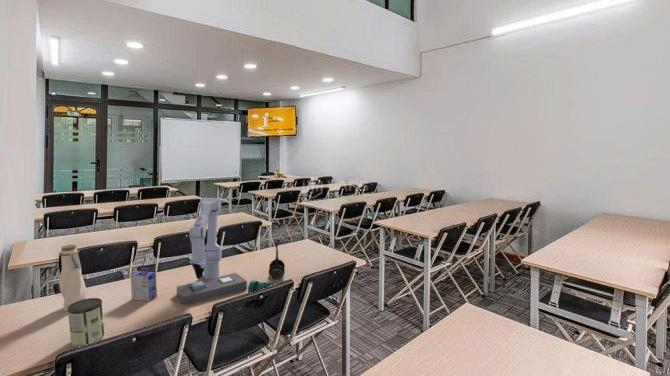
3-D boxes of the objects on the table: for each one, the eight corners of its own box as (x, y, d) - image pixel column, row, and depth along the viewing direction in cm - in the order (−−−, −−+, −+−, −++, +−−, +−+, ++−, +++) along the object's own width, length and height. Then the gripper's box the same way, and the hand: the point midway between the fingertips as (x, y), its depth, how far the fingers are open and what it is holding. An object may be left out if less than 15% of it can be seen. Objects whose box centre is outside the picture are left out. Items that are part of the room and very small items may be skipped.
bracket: (260, 301, 159) (260, 285, 158) (248, 299, 161) (247, 283, 160) (278, 286, 176) (278, 271, 175) (266, 284, 178) (266, 270, 177)
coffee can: (83, 332, 131) (80, 297, 129) (110, 332, 132) (108, 297, 130) (63, 348, 121) (59, 310, 119) (92, 347, 121) (89, 310, 120)
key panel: (176, 294, 165) (176, 286, 164) (236, 279, 183) (235, 272, 183) (184, 305, 154) (184, 296, 154) (246, 288, 173) (246, 281, 172)
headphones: (284, 271, 197) (284, 237, 194) (284, 281, 182) (284, 245, 180) (269, 271, 195) (269, 238, 193) (268, 282, 181) (267, 245, 178)
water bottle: (93, 304, 153) (88, 245, 150) (72, 314, 145) (67, 250, 141) (78, 301, 157) (72, 242, 153) (56, 310, 148) (50, 248, 145)
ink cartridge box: (158, 296, 162) (156, 267, 161) (149, 301, 157) (147, 271, 155) (140, 294, 164) (138, 265, 163) (131, 299, 159) (129, 270, 157)
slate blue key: (191, 289, 164) (190, 283, 164) (201, 286, 168) (201, 280, 167) (194, 292, 161) (193, 286, 160) (204, 290, 164) (204, 284, 163)
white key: (219, 284, 173) (219, 279, 173) (229, 282, 176) (229, 276, 176) (223, 288, 169) (223, 282, 169) (233, 285, 172) (232, 279, 172)
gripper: (185, 248, 165) (186, 275, 167) (194, 256, 154) (195, 285, 156) (200, 246, 170) (201, 272, 171) (209, 253, 158) (210, 281, 160)
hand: (199, 278), depth 164 cm, fingers closed
